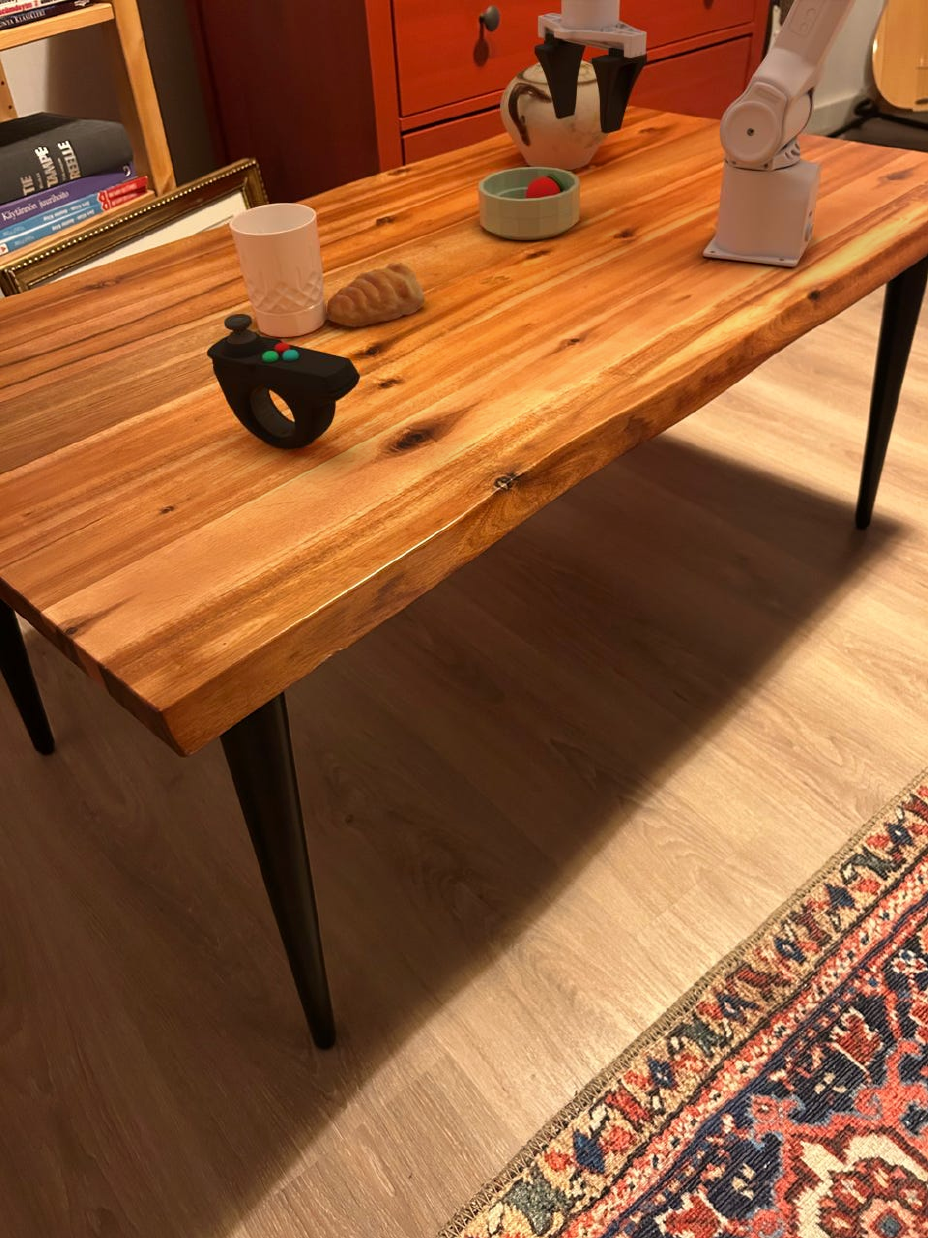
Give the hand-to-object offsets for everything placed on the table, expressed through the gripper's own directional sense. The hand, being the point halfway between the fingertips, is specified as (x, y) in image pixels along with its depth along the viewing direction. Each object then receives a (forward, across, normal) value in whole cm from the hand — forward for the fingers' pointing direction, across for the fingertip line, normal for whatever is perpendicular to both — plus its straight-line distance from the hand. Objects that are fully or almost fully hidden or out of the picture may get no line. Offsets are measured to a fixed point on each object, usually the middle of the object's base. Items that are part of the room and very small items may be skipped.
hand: (587, 123), depth 103 cm
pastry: (+11, +4, -30) cm, 32 cm away
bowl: (+10, -4, -5) cm, 12 cm away
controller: (+11, +22, -48) cm, 53 cm away
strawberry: (+9, -4, -4) cm, 11 cm away
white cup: (+11, +1, -38) cm, 39 cm away
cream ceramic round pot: (+11, -20, +12) cm, 25 cm away
